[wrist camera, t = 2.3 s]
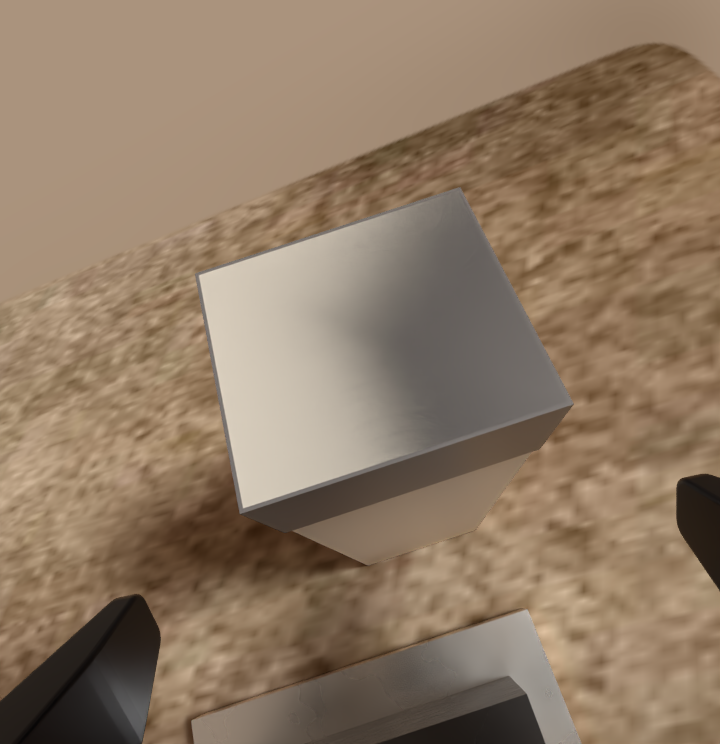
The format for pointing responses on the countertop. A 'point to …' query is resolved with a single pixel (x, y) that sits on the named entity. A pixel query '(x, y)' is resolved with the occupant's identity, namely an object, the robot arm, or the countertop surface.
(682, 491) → the robot arm
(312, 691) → the socket plate
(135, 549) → the countertop surface
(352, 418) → the plug block
